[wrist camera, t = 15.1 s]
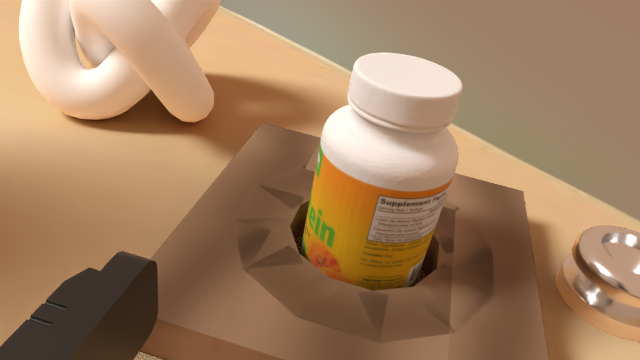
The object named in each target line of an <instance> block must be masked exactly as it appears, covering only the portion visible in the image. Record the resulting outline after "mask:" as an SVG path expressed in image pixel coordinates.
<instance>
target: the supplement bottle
mask: <svg viewBox="0 0 640 360" xmlns="http://www.w3.org/2000/svg"><path fill="white" fill-rule="evenodd" d="M461 93H462V82H461V81H460V79H459V78H458V77H457V76H456V75H455V74H454V73H452V72H451V71H449V70H448V69H446V68H444V67H442V66H440V65H438V64H435V63H433V62H431V61H428V60H425V59H421V58H418V57H414V56H409V55H404V54H396V53H373V54H367V55H364V56H362V57H360V58H359V59H358V60H357V61H356V62H355V64H354V67H353V71H352V76H351V80H350V85H349V93H348V96H347V98H348V102H349V105H346V106H344V107H342V108H340V109H338V110H337V111H335V112H334V113H333V114H332V115H331V116H330V117H329V118H328V120H327V121H326V123H325V125H324V128H323V131H322V136H321V140H320V147H319V152H318V158H317V164H316V169H315V174H314V180H313V186H312V191H311V197H310V202H309V207H308V212H307V218H306V223H305V229H304V234H303V239H302V244H301V251H300V254H301V255H302V256H303V257H304V258H306V259H307V260H308V261H309V262H311V263H312V264H313V265H314V266H316V267H317V268H318V269H319V270H320V271H322V272H323V273H324V274H325V275H327V276H328V277H329V278H332V279H335V280H338V281H342V282H345V283H348V284H352V285H355V286H359V287H362V288H365V289H369V290H372V291H376V290H386V289H396V288H406V287H414V285H415V282H416V280H417V277H418V275H419V272H420V269H421V266H422V264H423V261H424V258H425V255H426V252H427V249H428V247H429V244H430V241H431V238H432V235H433V233H434V230H435V227H436V224H437V221H438V218H439V216H440V213H441V210H442V207H443V204H444V201H445V199H446V196H447V193H448V190H449V188H450V185H451V182H452V179H453V176H454V173H455V170H456V166H457V163H458V148H457V144H456V142H455V139H454V138H453V136H452V134H451V133H450V132H449V131H448V129H447V128H446V127H448V126H449V125H450V123H451V121H452V119H453V118H454V117H455V114H456V110H457V106H458V103H459V99H460V96H461Z"/></svg>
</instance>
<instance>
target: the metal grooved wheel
mask: <svg viewBox="0 0 640 360" xmlns="http://www.w3.org/2000/svg"><path fill="white" fill-rule="evenodd" d="M556 286H557V289H558V291H559V293H560V295H561V297H562V298H563V300H564V301H565V302H566V304H567V305H568V306H569V307H570V308H571V309H572V310H573V311H574V312H575V313H576V314H577V315H578V316H580V317H581V318H582V319H583V320H585V321H586V322H588V323H589V324H591V325H592V326H594V327H596V328H597V329H599V330H601V331H603V332H605V333H607V334H610V335H612V336H615V337H618V338H621V339H625V340H629V341H637V342H640V233H638V232H635V231H632V230H629V229H626V228H622V227H617V226H595V227H591V228H589V229H587V230H585V231H583V232H582V233H581V234H580V235H579V236H578V237H577V239H576V240H575V242H574V244H573V246H572V254H570V255H569V256H568V257H566V259H565V260H564V262H563V264H562V266H561V267H560V269H559V271H558V273H557V275H556Z"/></svg>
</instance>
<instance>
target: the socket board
mask: <svg viewBox="0 0 640 360" xmlns="http://www.w3.org/2000/svg"><path fill="white" fill-rule="evenodd" d="M320 140H321V138H319V137H315V136H311V135H307V134H303V133H300V132H296V131H292V130H288V129H284V128H281V127H277V126H273V125H269V124H265V123H262V124H261V125H260V126H259V127H258V129H257V130H256V131H255V132H254V133H253V135H252V136H251V137H250V138H249V140H248V141H247V142H246V143H245V144H244V146H243V147H242V148H241V149H240V151H239V152H238V153H237V154H236V155H235V157H234V158H233V159H232V160H231V162H230V163H229V164H228V165H227V166H226V168H225V169H224V170H223V171H222V173H221V174H220V175H219V176H218V177H217V179H216V180H215V181H214V182H213V184H212V185H211V186H210V187H209V188H208V190H207V191H206V192H205V193H204V195H203V196H202V197H201V198H200V199H199V201H198V202H197V203H196V204H195V206H194V207H193V208H192V209H191V210H190V212H189V213H188V214H187V215H186V217H185V218H184V219H183V220H182V222H181V223H180V224H179V225H178V226H177V228H176V229H175V230H174V231H173V233H172V234H171V235H170V236H169V237H168V239H167V240H166V241H165V242H164V244H163V245H162V246H161V247H160V248H159V250H158V251H157V252H156V253H155V255H154V256H153V257H152V258H151V259H150V260H153V261H155V262H156V263H157V269H158V315H157V319H156V322H155V325H154V328H153V330H152V332H151V334H150V336H149V337H148V339H147V341H146V342H145V343H144V345H143V346H142V348H141V349H140V351H142V352H145V353H148V354H151V355H154V356H157V357H160V358H163V359H166V360H549V358H548V351H547V345H546V338H545V331H544V325H543V318H542V312H541V305H540V299H539V292H538V286H537V279H536V272H535V266H534V259H533V253H532V246H531V240H530V233H529V226H528V220H527V213H526V207H525V200H524V194H523V191H520V190H516V189H512V188H509V187H505V186H501V185H497V184H493V183H490V182H486V181H482V180H478V179H474V178H471V177H467V176H463V175H459V174H455V173H454V176H453V179H452V182H451V185H450V188H449V190H448V193H447V196H446V199H445V201H444V204H443V207H442V210H441V213H440V216H439V218H438V221H437V224H436V227H435V230H434V233H433V235H432V238H431V241H430V244H429V247H428V249H427V252H426V255H425V258H424V261H423V264H422V268H423V269H424V271H425V273H426V274H427V277H425V278H424V279H423V280H422V281H420V282H419V283H418V284H416V285H415V286H414V287H406V288H396V289H386V290H376V291H372V290H369V289H365V288H362V287H359V286H355V285H352V284H348V283H345V282H342V281H338V280H335V279H332V278H329V277H328V276H327V275H325V274H324V273H323V272H322V271H320V270H319V269H318V268H317V267H316V266H314V265H313V264H312V263H311V262H309V261H308V260H307V259H306V258H304V257H303V256H302V255H301V254H299V251H298V249H297V246H296V243H295V240H294V239H295V237H297V236H299V235H301V234H303V233H304V229H305V223H306V218H307V212H308V207H309V202H310V197H311V191H312V186H313V180H314V174H315V169H316V164H317V158H318V152H319V147H320Z"/></svg>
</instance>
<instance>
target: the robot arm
mask: <svg viewBox="0 0 640 360" xmlns="http://www.w3.org/2000/svg"><path fill="white" fill-rule="evenodd" d="M157 315H158V269H157V263H156V262H155V261H153V260H150V259H147V258H143V257H140V256H137V255H133V254H130V253H127V252H123V251H121V252H119V253H117V254H116V255H115V256H114V257H113V258H112V259H111V260H110V261H109V262H108V263H107V264H106V265H105V266H104V268H103V269H102V270H101V271H98V270H95V269H92V268H88V269H86V270H84V271H82V272H80V273H79V274H77V275H75V276H73V277H71V278H69V279H68V280H66V281H64V282H63V283H62V284H61V285H60V286H59V287H58V288H57V289H56V290H55V291H54V292H53V293H52V295H51V296H50V297H49V298H48V299H47V300H46V303H45V304H42V305H41V306H40V307H39V308H38V309H37V310H36V311H35V312H34V313H33V314H32V315H31V318H30V319H29V320H26V321H25V322H24V323H23V324H22V325H21V326H20V327H19V328H18V329H17V330H16V331H15V332H14V333H13V334H12V335H11V336H10V337H9V338H8V339H7V340H6V341H5V342H4V344H3V345H2V346H1V347H0V360H133V359H134V358H135V357H136V355H137V354H138V352H139V351H140V349H141V348H142V346H143V345H144V343H145V342H146V341H147V339H148V337H149V336H150V334H151V332H152V330H153V328H154V325H155V322H156V319H157Z"/></svg>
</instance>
